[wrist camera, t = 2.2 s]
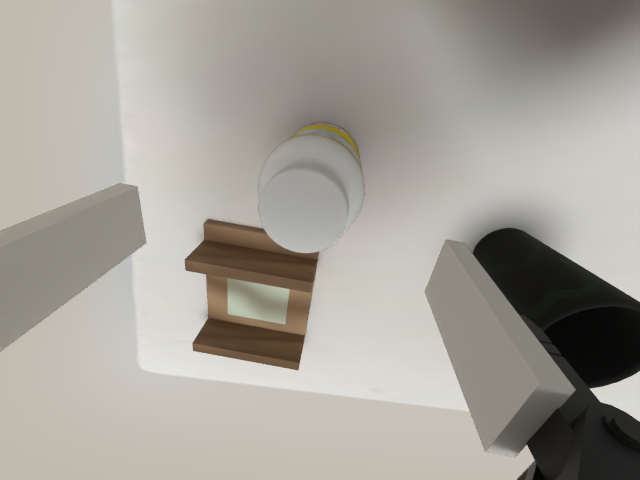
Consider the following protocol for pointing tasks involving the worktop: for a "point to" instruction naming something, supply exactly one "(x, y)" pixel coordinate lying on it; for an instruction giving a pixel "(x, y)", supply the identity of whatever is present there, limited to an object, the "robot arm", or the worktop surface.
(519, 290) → the cup
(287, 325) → the holder
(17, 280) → the robot arm
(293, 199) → the supplement bottle
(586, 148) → the worktop surface
